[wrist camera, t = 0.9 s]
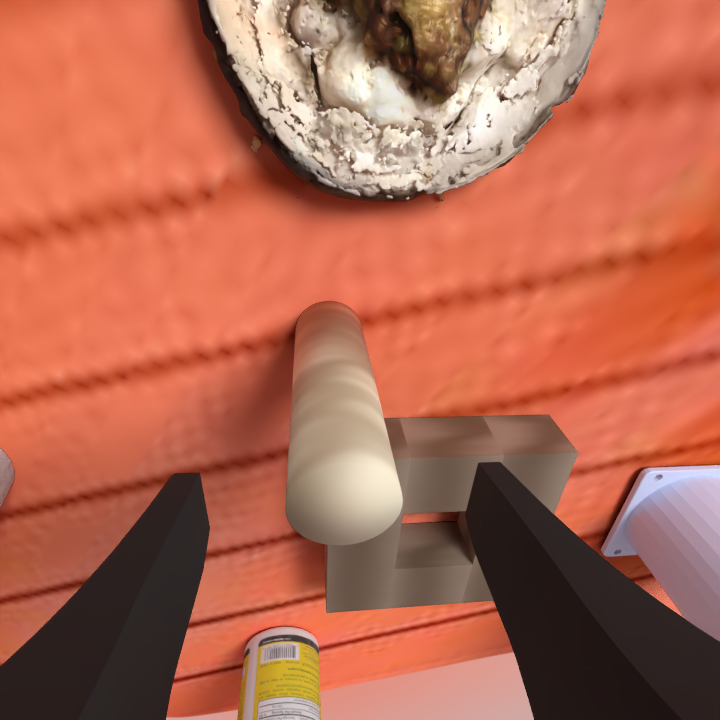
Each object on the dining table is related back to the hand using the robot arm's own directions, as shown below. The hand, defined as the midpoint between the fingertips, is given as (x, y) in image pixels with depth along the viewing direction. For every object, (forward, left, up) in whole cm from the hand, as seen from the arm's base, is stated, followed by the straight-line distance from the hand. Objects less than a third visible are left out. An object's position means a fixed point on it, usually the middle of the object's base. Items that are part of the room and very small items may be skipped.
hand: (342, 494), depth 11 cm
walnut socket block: (-6, +11, -10) cm, 16 cm away
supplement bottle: (+3, +26, -10) cm, 28 cm away
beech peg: (0, 0, -10) cm, 10 cm away
